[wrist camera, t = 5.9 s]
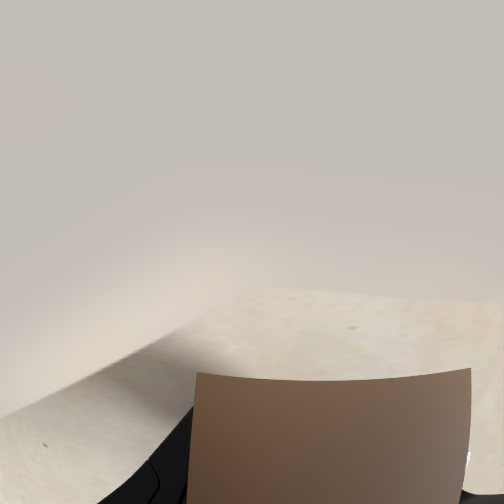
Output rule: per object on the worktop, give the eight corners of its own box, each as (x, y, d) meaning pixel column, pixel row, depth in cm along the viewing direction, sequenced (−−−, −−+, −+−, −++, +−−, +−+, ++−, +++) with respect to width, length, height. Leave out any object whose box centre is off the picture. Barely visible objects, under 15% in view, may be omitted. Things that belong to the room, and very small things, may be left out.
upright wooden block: (288, 458, 13) (436, 571, 1) (215, 454, 13) (184, 609, 1) (293, 391, 15) (470, 367, 3) (221, 387, 15) (197, 372, 3)
